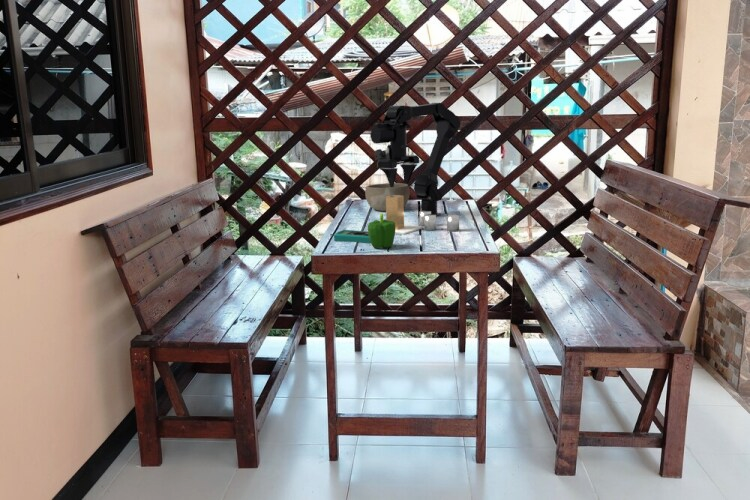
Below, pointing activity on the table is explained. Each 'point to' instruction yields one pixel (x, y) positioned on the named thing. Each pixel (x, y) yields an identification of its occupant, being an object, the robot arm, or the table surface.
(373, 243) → the bell pepper
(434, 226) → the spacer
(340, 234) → the digital multimeter
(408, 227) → the white mat
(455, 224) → the cylinder
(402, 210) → the tan tall block
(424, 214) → the cylinder
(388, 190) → the bowl
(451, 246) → the table surface
